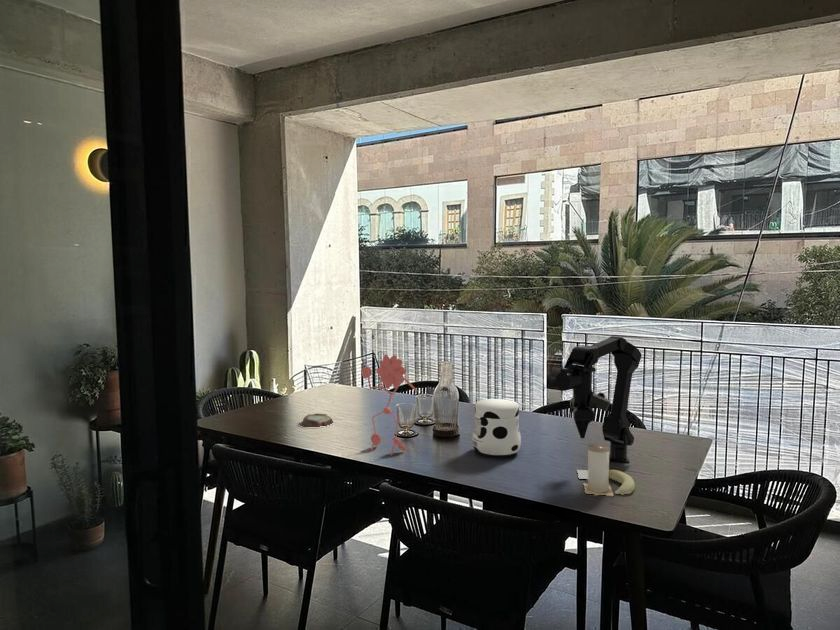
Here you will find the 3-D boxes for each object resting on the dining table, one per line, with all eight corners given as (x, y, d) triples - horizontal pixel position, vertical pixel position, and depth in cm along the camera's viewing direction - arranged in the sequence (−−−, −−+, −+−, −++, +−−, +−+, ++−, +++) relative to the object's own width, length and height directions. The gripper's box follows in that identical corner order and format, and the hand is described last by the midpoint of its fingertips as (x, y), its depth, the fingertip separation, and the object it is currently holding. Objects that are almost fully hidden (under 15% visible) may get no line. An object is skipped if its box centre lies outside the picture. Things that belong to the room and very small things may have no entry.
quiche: (282, 424, 253) (282, 415, 253) (324, 416, 266) (324, 407, 265) (305, 435, 237) (305, 425, 236) (348, 426, 249) (348, 417, 249)
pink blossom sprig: (409, 460, 203) (409, 360, 201) (352, 447, 218) (352, 354, 215) (433, 449, 216) (434, 355, 214) (378, 438, 231) (378, 349, 228)
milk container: (528, 450, 214) (529, 402, 213) (507, 464, 200) (508, 412, 198) (486, 442, 224) (486, 395, 222) (463, 454, 210) (463, 405, 208)
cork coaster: (583, 484, 181) (583, 483, 181) (610, 486, 180) (610, 485, 180) (585, 494, 174) (585, 493, 174) (613, 496, 172) (613, 495, 172)
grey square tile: (576, 470, 193) (576, 469, 193) (602, 472, 192) (602, 471, 192) (578, 479, 186) (578, 478, 186) (605, 481, 184) (605, 480, 184)
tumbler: (585, 485, 180) (585, 443, 179) (604, 484, 180) (605, 443, 179) (591, 493, 174) (591, 449, 173) (611, 492, 174) (612, 449, 173)
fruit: (626, 478, 188) (627, 468, 187) (639, 496, 173) (640, 485, 172) (603, 477, 188) (604, 467, 188) (614, 496, 173) (615, 485, 173)
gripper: (612, 393, 178) (611, 444, 179) (604, 381, 196) (603, 427, 198) (574, 392, 180) (573, 442, 181) (570, 380, 198) (569, 425, 200)
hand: (581, 434), depth 190 cm, fingers open, 9 cm apart
